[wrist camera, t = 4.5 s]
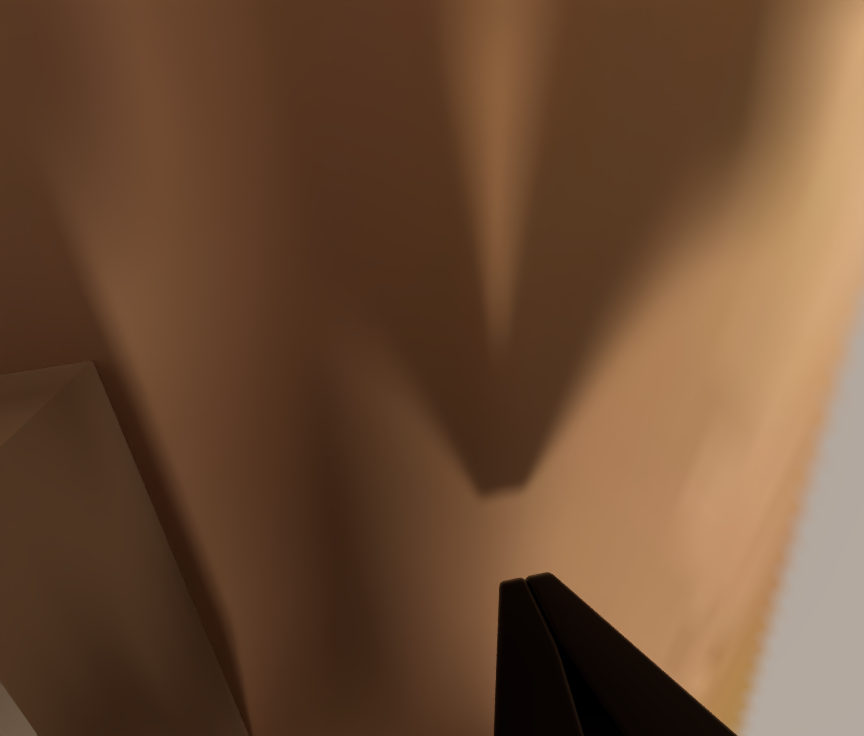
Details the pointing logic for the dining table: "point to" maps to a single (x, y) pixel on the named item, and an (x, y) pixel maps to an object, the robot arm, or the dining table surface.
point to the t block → (92, 579)
